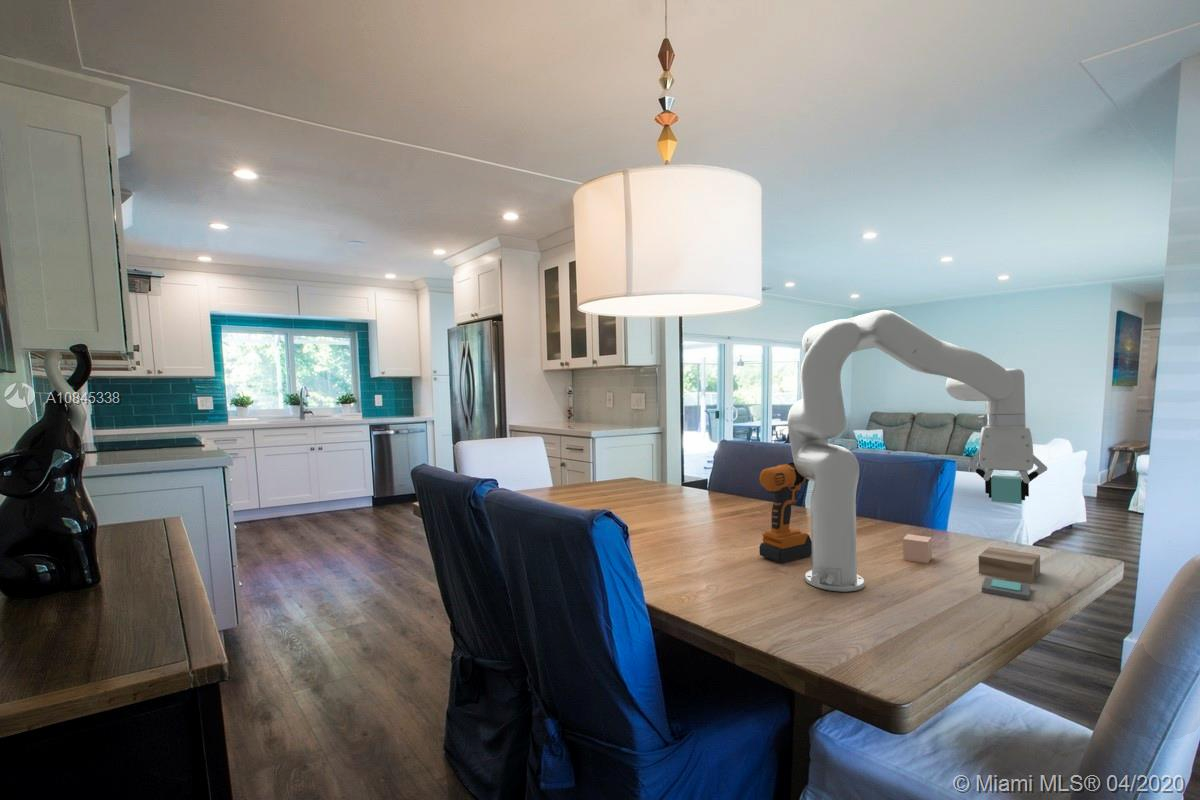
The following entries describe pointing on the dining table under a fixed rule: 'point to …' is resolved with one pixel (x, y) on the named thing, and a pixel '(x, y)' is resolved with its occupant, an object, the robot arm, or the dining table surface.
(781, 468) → the power drill
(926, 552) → the terracotta block
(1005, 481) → the teal block
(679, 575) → the dining table surface
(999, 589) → the tile
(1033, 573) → the walnut block
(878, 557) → the dining table surface
